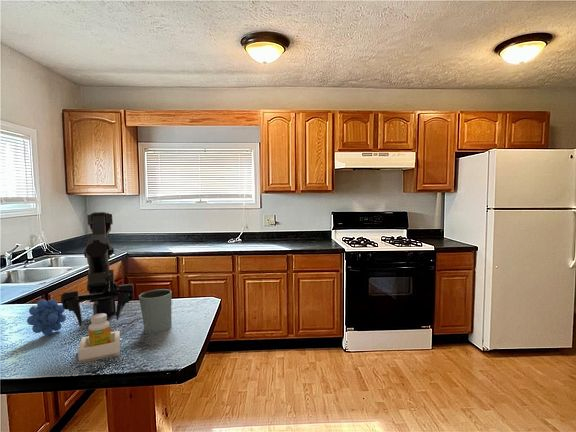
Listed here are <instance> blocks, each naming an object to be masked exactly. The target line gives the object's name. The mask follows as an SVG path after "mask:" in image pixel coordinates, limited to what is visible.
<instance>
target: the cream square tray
mask: <svg viewBox="0 0 576 432" xmlns="http://www.w3.org/2000/svg"><path fill="white" fill-rule="evenodd" d="M110 332H111V343H108V344H102V345H97V346H92V347H90V343H89V335H86V336H82V337H81V340H80V343H79V347H78V349H77V355H78V364H83V363H88V362H93V361H98V360H103V359H108V358H112V357H118V356H121V336H120V334H121V333H120V330H115V331H110Z"/></svg>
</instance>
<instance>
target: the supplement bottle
mask: <svg viewBox="0 0 576 432" xmlns="http://www.w3.org/2000/svg"><path fill="white" fill-rule="evenodd" d="M107 319H108V317H107V314H105V313H100V314H95V315H93V314H92V315H91V316H90V322H91V323H90V324H89V325H88V336H89V343H90V347H92V346H97V345H102V344H108V343H111V332H112V331H111V322H110V321H108V320H107Z"/></svg>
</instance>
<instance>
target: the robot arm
mask: <svg viewBox="0 0 576 432" xmlns="http://www.w3.org/2000/svg"><path fill="white" fill-rule="evenodd" d="M86 217H87V218H86V219H87V226H88V227H89V228H90V231H91V232H92V233H91V237H90V238H89V239H88V240H87V244H86V245H87V246H85V247H84V251H83V256H84V258H86V261H87V264H88V274H87V277H86V278H87V283H86V291H87V293H83V294H79V292H78V290H72V291H71V290H70V291H64V292H63V293H62V294H60V302H61V305H62V306H63V309H65V310H67V311H69V312H73V313H74V315H75V316H76V319H77V322H78V324H79V327H82V324H83V318H82V309H81V306H80V302H87V301H88V302H89V301H91V303H93V304H92V312H93V313H92V316H93V315H95V314H100V313H105V314H107V318H108V317H111V316H115V317H116V321H118V320H119V319H120V317H121V316H120V315H121V313H122V311H123V309H124V307H125V305H126V304H128V303H130V301H133V300H134V285H133V284H132V283H127V284H119V285H118V284H117V282H115V275H114V274H115V272H114V271H115V270H114V269H110V261H109V260H110V258H111V256H113V254H114V253H115V248H114V247H113V245H112V244H110V240H109V239H110V238H109V237H108V235H109V234H110V232H111V231H112V225H113V223H114V222H113V214H112V213H109V212H105V211H97V212H96V211H95V212H92V213H91V214H87V216H86ZM116 299H117V303H116Z"/></svg>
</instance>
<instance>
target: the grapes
mask: <svg viewBox="0 0 576 432" xmlns="http://www.w3.org/2000/svg"><path fill="white" fill-rule="evenodd" d="M58 303H59V302H58V301H57V300H56V299H55V298H53V299H52V298H51V299H48V300H46V299H39V300H38V301H37V303H36V305H32V306H30V307H29V310H28V313H29V314H30V315H29V316H28V317H27V319H26V322H27V324H28V325H30V326H31V330H32V332H33V333H36V334H40V333H42V334H43V335H44V336H50V335H51V334H52V333H53V331H54V332H57V331H60V330H61V328H62V324H61V323H64V322H65V321H67V315H66V314H64V312H65V310H66V309H63V306H62V304H58Z"/></svg>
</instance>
